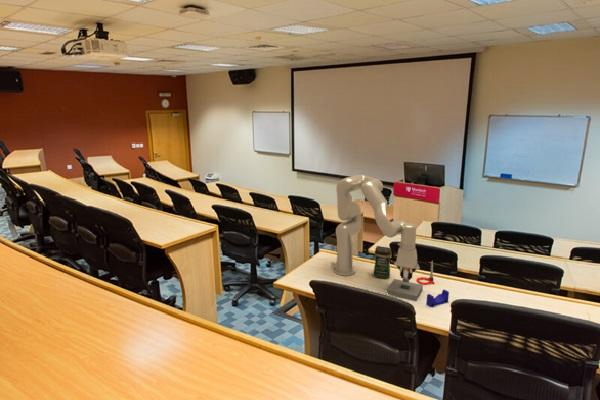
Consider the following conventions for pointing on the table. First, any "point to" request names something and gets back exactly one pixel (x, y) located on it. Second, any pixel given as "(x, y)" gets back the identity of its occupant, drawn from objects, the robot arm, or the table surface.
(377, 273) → the coffee jar
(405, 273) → the orange and cream cylinder
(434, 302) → the cable clip
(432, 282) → the tow hook
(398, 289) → the hitch plate
